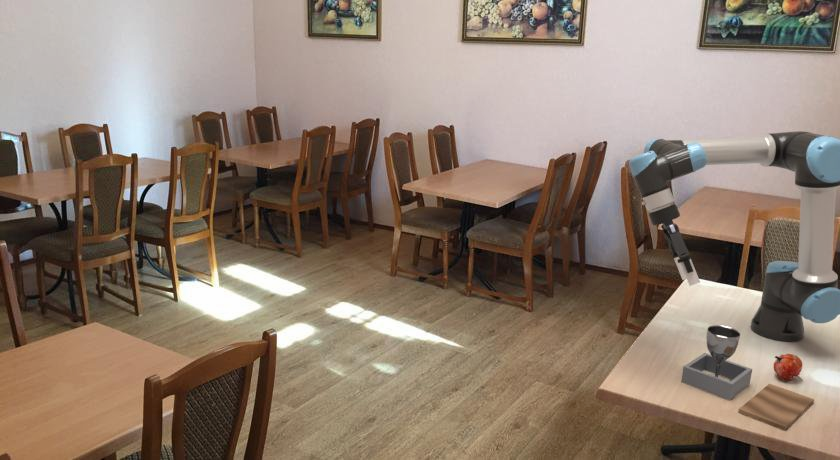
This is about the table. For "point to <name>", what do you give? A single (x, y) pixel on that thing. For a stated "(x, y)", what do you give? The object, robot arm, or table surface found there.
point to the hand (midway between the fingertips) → (691, 281)
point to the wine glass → (721, 343)
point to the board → (776, 406)
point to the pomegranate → (787, 367)
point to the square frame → (712, 383)
